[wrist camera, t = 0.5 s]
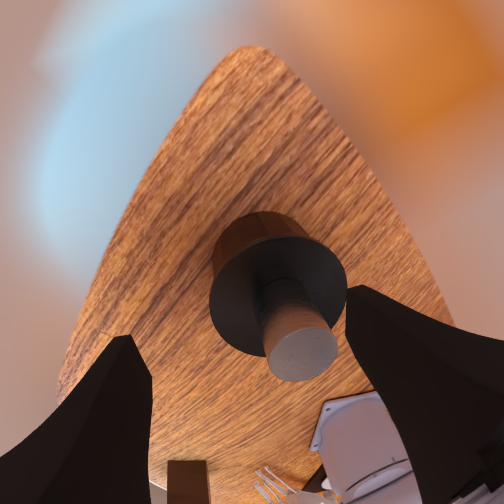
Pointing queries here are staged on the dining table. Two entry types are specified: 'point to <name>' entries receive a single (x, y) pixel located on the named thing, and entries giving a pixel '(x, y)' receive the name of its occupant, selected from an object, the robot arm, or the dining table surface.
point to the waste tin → (251, 233)
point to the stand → (188, 483)
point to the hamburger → (318, 482)
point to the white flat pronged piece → (293, 492)
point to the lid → (281, 303)
